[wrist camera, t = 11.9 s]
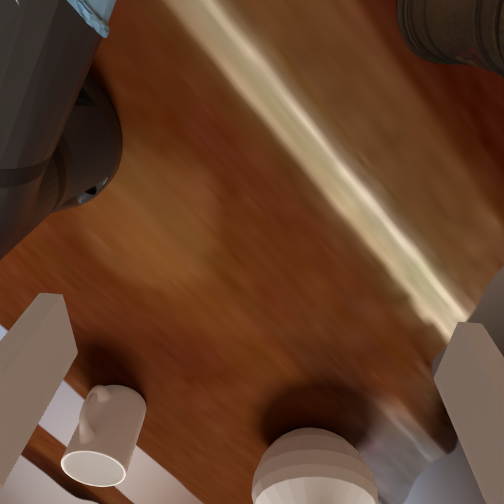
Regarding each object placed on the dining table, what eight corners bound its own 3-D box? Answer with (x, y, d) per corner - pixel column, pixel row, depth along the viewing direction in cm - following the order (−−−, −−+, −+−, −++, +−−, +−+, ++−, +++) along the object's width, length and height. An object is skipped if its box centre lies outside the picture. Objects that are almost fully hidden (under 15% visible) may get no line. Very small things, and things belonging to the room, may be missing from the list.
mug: (129, 364, 57) (102, 432, 48) (154, 416, 63) (134, 485, 54) (74, 369, 58) (37, 436, 49) (104, 419, 64) (76, 488, 55)
